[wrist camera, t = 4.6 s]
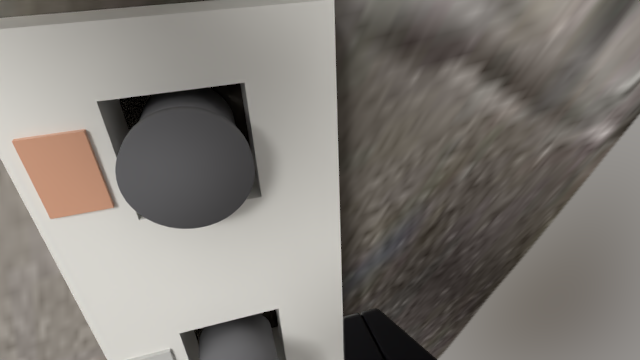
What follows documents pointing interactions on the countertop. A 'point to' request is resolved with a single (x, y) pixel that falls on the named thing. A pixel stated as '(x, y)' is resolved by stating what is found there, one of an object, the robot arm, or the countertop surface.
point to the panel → (172, 243)
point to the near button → (185, 160)
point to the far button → (238, 340)
